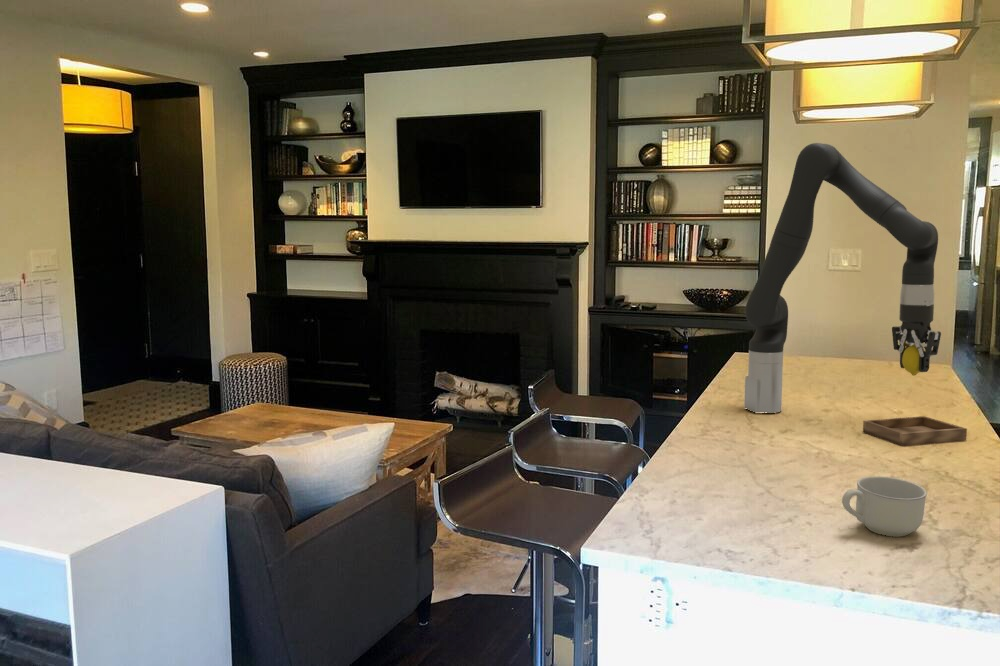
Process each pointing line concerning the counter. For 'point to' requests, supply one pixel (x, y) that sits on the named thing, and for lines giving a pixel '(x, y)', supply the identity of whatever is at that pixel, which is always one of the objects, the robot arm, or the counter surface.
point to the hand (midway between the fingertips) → (914, 369)
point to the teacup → (887, 505)
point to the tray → (914, 430)
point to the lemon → (911, 359)
